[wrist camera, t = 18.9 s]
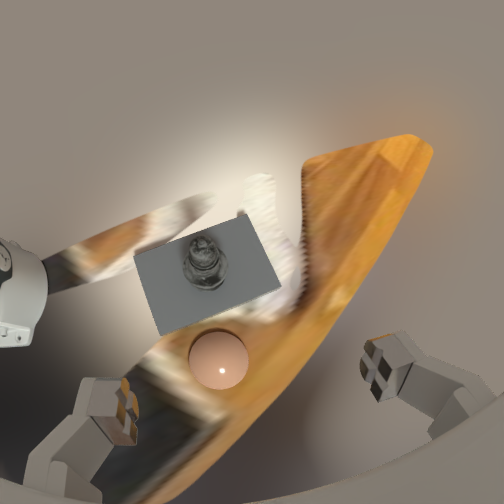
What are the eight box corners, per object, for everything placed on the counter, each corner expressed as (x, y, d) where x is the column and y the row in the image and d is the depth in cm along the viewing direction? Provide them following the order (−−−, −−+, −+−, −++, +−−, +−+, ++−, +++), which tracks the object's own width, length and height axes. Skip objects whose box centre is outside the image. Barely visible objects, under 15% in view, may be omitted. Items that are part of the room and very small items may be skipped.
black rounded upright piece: (200, 246, 42) (194, 205, 31) (235, 267, 41) (241, 232, 30) (177, 279, 40) (161, 249, 29) (213, 302, 39) (210, 280, 28)
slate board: (162, 336, 38) (160, 335, 37) (135, 259, 42) (133, 256, 40) (279, 288, 42) (281, 286, 41) (246, 218, 46) (246, 213, 44)
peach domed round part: (204, 396, 36) (203, 397, 36) (181, 344, 39) (180, 344, 38) (257, 375, 38) (258, 375, 37) (233, 323, 40) (234, 322, 40)
